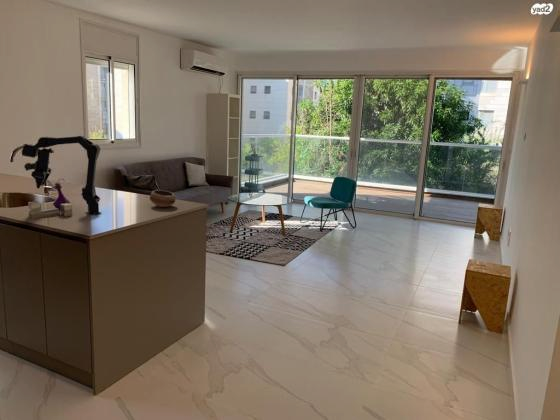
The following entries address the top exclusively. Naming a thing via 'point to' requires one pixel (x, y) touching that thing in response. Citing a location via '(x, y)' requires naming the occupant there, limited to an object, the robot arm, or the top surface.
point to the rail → (41, 211)
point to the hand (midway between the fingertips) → (40, 186)
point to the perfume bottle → (60, 196)
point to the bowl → (162, 198)
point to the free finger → (66, 209)
